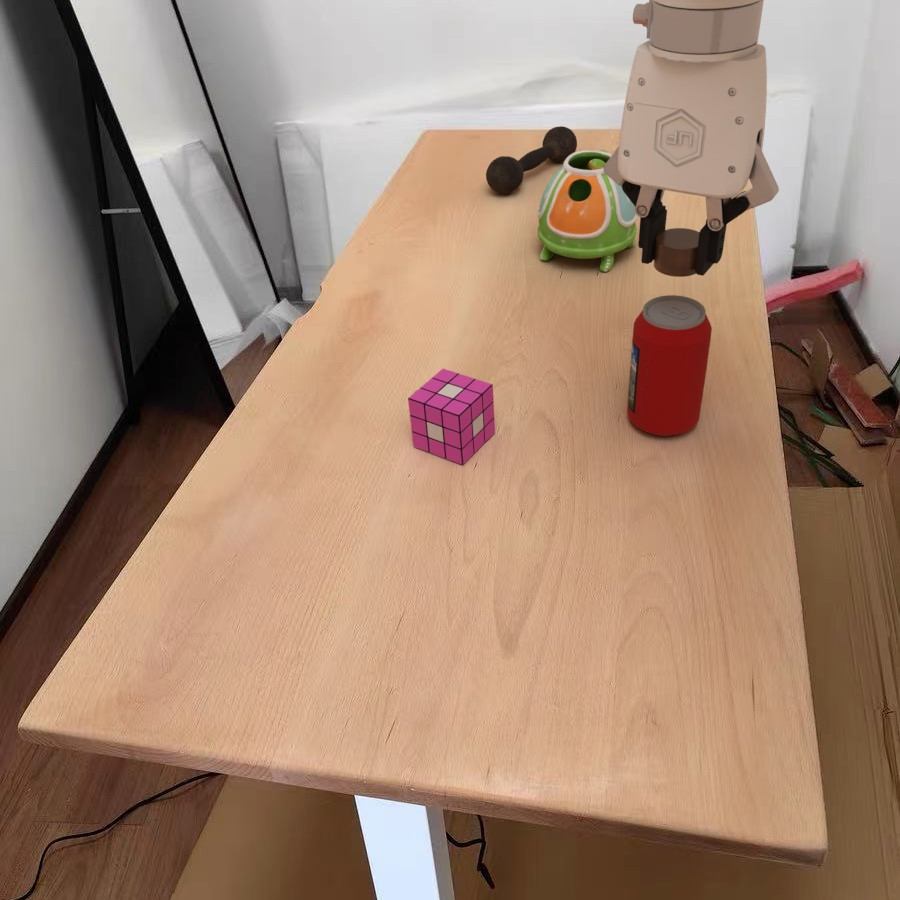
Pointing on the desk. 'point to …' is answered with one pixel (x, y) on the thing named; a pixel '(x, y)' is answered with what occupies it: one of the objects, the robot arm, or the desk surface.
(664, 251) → the dark brown cylinder
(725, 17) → the robot arm
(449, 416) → the puzzle toy
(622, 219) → the turtle holder
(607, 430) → the desk surface
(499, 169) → the dumbbell
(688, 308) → the beverage can
